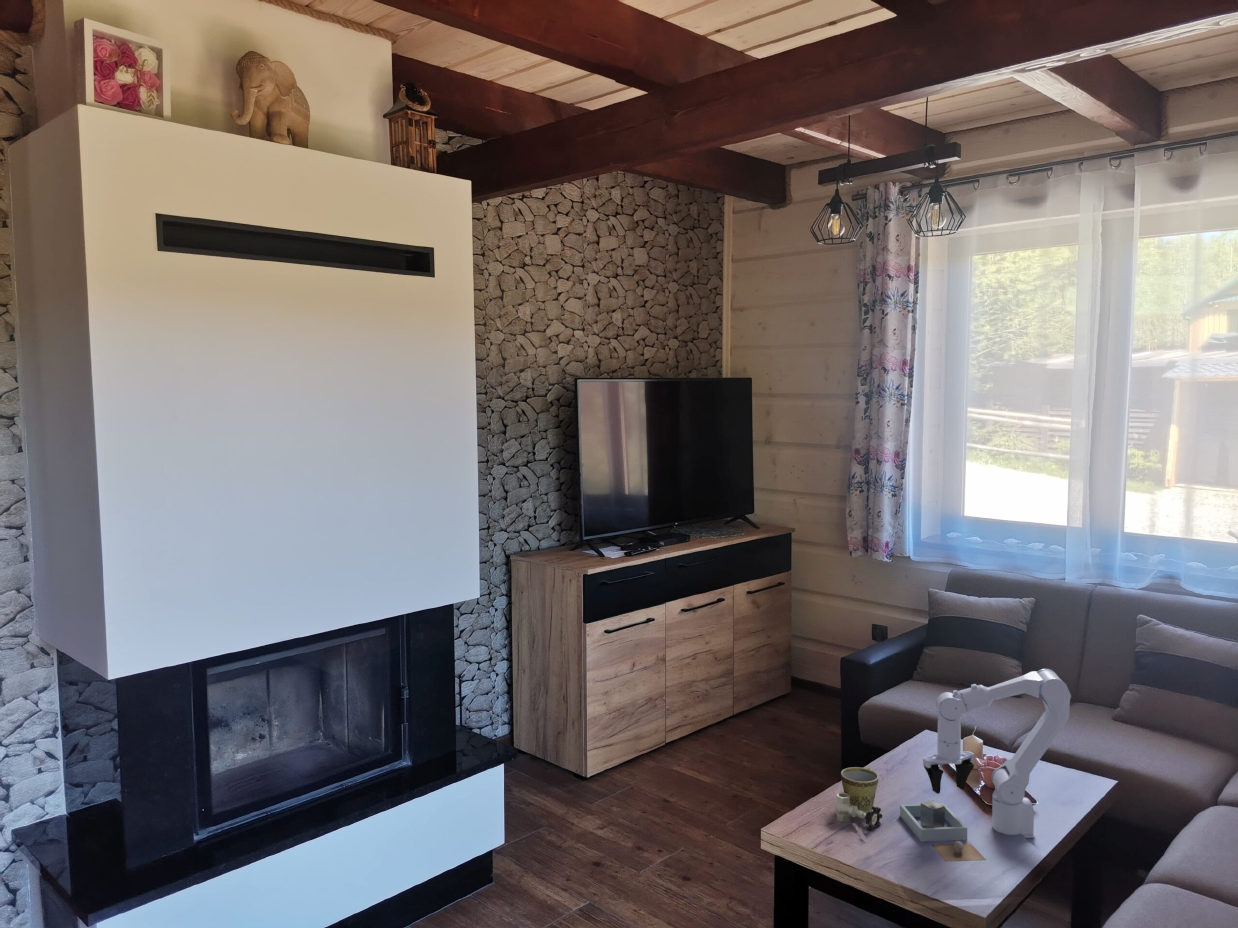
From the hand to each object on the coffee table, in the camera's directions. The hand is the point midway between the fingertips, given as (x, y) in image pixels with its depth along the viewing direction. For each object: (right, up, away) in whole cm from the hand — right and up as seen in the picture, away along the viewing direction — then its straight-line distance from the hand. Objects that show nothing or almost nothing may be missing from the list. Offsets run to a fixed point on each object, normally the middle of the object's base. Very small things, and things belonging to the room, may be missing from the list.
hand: (948, 789), depth 229 cm
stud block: (-3, -11, -15) cm, 18 cm away
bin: (-5, -10, -2) cm, 11 cm away
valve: (-24, -10, +3) cm, 26 cm away
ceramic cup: (-20, -10, +12) cm, 25 cm away
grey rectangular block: (-5, -10, -2) cm, 11 cm away
